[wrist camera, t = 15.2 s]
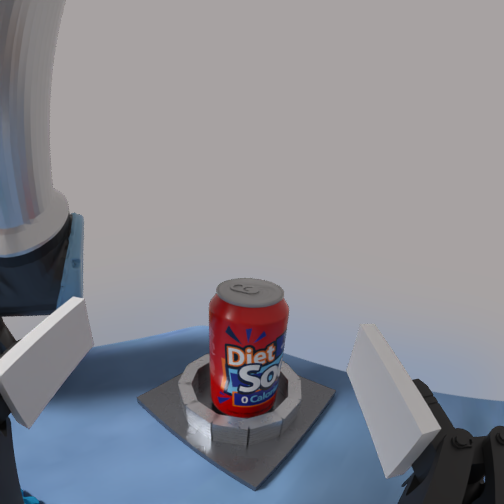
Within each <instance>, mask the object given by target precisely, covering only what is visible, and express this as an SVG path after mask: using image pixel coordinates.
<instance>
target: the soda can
mask: <svg viewBox="0 0 504 504" xmlns="http://www.w3.org/2000/svg"><path fill="white" fill-rule="evenodd" d="M216 292H217V293H216V294H215V296H214V297H213V298H212V299H211V301H210V304H209V364H210V395H211V399H212V402H213V404H214V405H215V406H216V408H217V409H219V410H220V411H221V412H223V413H225V414H227V415H229V416H232V417H238V418H252V417H255V416H259V415H262V414H264V413H266V412H267V411H269V410H270V409H271V408H272V406H273V405H274V403H275V400H276V395H277V389H278V383H279V377H280V371H281V365H282V358H283V351H284V345H285V338H286V330H287V323H288V316H289V306H288V304H287V303H286V301H285V299H284V298H283V297H284V291H283V289H282V288H281V287H280V286H278V285H276V284H274V283H272V282H269V281H265V280H260V279H252V278H238V279H231V280H227V281H224V282H222V283H220V284H219V285H218V287H217V289H216Z"/></svg>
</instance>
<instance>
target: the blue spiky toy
mask: <svg viewBox="0 0 504 504" xmlns="http://www.w3.org/2000/svg"><path fill="white" fill-rule="evenodd" d="M21 492H22V496H23V490H22V489H21ZM23 500H24V504H39V501H38V500H37V499H36V498H35V497H32V496H29V497H24V496H23Z"/></svg>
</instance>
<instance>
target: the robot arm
mask: <svg viewBox="0 0 504 504" xmlns="http://www.w3.org/2000/svg"><path fill="white" fill-rule="evenodd" d="M65 1H66V0H0V504H24V500H23V496H22V492H21V488H20V484H19V479H18V474H17V469H16V463H15V456H14V449H13V441H12V430H11V421H10V418H9V417H8V415H9V414H10V413H12V415H13V416H14V418H15V419H16V421H17V422H18V423H20V424H21V425H23V426H25V427H26V428H28V429H30V428H31V426H32V425H33V423H34V422H35V420H36V419H37V418H38V416H39V415H40V413H41V412H42V411H43V409H44V408H45V407H46V405H47V404H48V403H49V401H50V400H51V399H52V397H53V396H54V395H55V393H56V392H57V391H58V389H59V388H60V387H61V385H62V384H63V383H64V382H65V380H66V379H67V378H68V376H69V375H70V374H71V373H72V371H73V370H74V369H75V368H76V366H77V365H78V364H79V363H80V361H81V360H82V359H83V358H84V356H85V355H86V354H87V353H88V352H89V350H90V349H91V348H92V347H93V345H94V342H93V338H92V334H91V329H90V325H89V320H88V315H87V310H86V304H85V299H83V240H84V236H83V235H84V219H83V216H82V215H80V214H76V213H71V214H69V206H68V202H67V199H66V197H65V196H64V195H63V194H62V193H61V192H60V191H58V190H56V189H55V188H53V183H52V172H51V158H50V125H49V124H50V120H49V119H50V94H51V81H52V70H53V62H54V55H55V48H56V42H57V37H58V31H59V26H60V22H61V17H62V13H63V9H64V5H65ZM37 315H49V316H48V317H47V318H46V319H45V320H44V321H43V322H41V323H40V324H39V325H38V326H36V327H35V328H34V329H33V330H32V331H31V332H30V333H28V334H27V335H26V336H25V337H24V338H22V339H20V340H18V341H16V340H15V338H14V337H13V336H12V334H11V332H10V331H9V329H8V328H7V326H6V325H5V323H4V322H3V319H2V317H3V316H4V317H5V316H37ZM346 371H347V374H348V376H349V379H350V381H351V384H352V386H353V389H354V391H355V394H356V397H357V399H358V402H359V404H360V407H361V410H362V412H363V415H364V418H365V420H366V423H367V426H368V429H369V431H370V434H371V437H372V440H373V442H374V445H375V448H376V451H377V454H378V457H379V460H380V462H381V465H382V468H383V471H384V474H385V477H386V479H387V478H391V477H395V476H399V475H402V474H404V473H405V472H406V471H407V470H408V469H409V468H410V467H411V466H412V468H413V470H414V473H413V474H412V475H411V476H410V477H409V478H408V479H407V480H406V481H405V482H404V483H403V484H402V487H404V486H405V485H406V484H407V485H406V488H405V490H404V492H403V494H402V496H401V498H400V500H399V502H398V504H504V426H496V427H495V428H493V429H492V430H491V432H490V433H489V434H488V435H487V436H481V437H473V436H472V435H471V434H470V433H469V432H468V431H466V430H464V429H460V428H456V429H455V428H454V427H453V425H452V423H451V422H450V420H449V418H448V417H447V415H446V414H445V412H444V410H443V409H442V407H441V406H440V404H439V403H438V401H437V400H436V398H435V396H434V397H433V393H432V392H431V390H430V389H429V387H428V386H427V385H426V384H424V383H423V382H422V381H421V380H419V379H415V380H412V379H411V378H410V376H409V375H408V373H407V371H406V370H405V368H404V367H403V365H402V364H401V362H400V361H399V359H398V358H397V356H396V355H395V353H394V352H393V350H392V349H391V347H390V346H389V344H388V343H387V341H386V340H385V338H384V337H383V336H382V334H381V332H380V331H379V330H378V328H377V327H376V325H375V324H360V326H359V330H358V334H357V337H356V341H355V344H354V348H353V350H352V354H351V357H350V360H349V363H348V366H347V369H346ZM484 476H485V483H484V480H483V477H484Z"/></svg>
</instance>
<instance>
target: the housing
mask: <svg viewBox="0 0 504 504" xmlns="http://www.w3.org/2000/svg"><path fill="white" fill-rule="evenodd" d="M335 392H336V390H334V389H331V388H328V387H326V386H323V385H321V384H318V383H315V382H313V381H310V380H308V379H306V378H303V377H301V376H298V375H297V374H296V373H295V372H294V371H293V370H292V369H291V368H290V367H289V366H288V364H287V363H285V362H284V361H282V365H281V371H280V377H279V383H278V389H277V395H276V400H275V403H274V405H273V406H272V408H271V409H270V410H269V411H267V412H266V413H264V414H262V415H259V416H255V417H252V418H238V417H232V416H229V415H227V414H225V413H223V412H221V411H220V410H219V409H217V408H216V406H215V405H214V404H213V402H212V399H211V395H210V364H209V354H206V355H204V356H202V357H200V358H199V359H197V360H195V361H193V362H192V363H190V364H188V365H187V367H186V368H185V370H184V372H183V373H182V374H180V375H178V376H176V377H174V378H173V379H171V380H169V381H167V382H165V383H163V384H161V385H160V386H158V387H156V388H154V389H152V390H150V391H148V392H146V393H144V394H142V395H140V396H139V397H137V401H138V403H139V404H140V405H141V406H142V407H143V408H144V409H145V410H146V411H147V412H148V413H149V414H150V415H152V416H153V417H154V418H155V419H156V420H157V421H158V422H159V423H160V424H162V425H163V426H164V427H165V428H166V429H167V430H169V431H170V432H171V433H172V434H173V435H175V436H176V437H177V438H178V439H179V440H181V441H182V442H183V443H184V444H186V445H187V446H188V447H190V448H191V449H192V450H193V451H195V452H196V453H197V454H199V455H200V456H201V457H203V458H204V459H206V460H207V461H208V462H210V463H211V464H213V465H214V466H216V467H217V468H219V469H220V470H221V471H223V472H225V473H226V474H228V475H229V476H231V477H232V478H234V479H235V480H237V481H239V482H240V483H242V484H244V485H245V486H247V487H249V488H250V489H252V490H254V491H256V490H257V489H258V488H259V487H260V486H261V485H262V484H263V483H264V482H265V481H266V479H267V478H268V477H269V476H270V475H271V474H272V473H273V472H274V471H275V470H276V469H277V468H278V467H279V465H280V464H281V463H282V462H283V461H284V460H285V459H286V457H287V456H288V455H289V454H290V453H291V452H292V450H293V449H294V448H295V447H296V446H297V444H298V443H299V442H300V441H301V440H302V438H303V437H304V436H305V435H306V433H307V432H308V431H309V429H310V428H311V427H312V426H313V424H314V423H315V422H316V420H317V419H318V418H319V416H320V415H321V414H322V412H323V411H324V409H325V408H326V407H327V405H328V404H329V402H330V401H331V400H332V398H333V397H334V395H335Z"/></svg>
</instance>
